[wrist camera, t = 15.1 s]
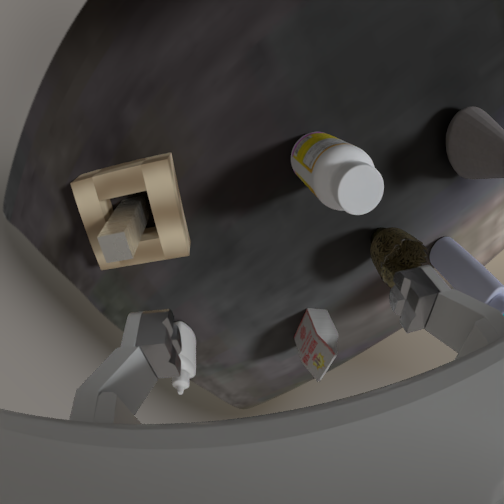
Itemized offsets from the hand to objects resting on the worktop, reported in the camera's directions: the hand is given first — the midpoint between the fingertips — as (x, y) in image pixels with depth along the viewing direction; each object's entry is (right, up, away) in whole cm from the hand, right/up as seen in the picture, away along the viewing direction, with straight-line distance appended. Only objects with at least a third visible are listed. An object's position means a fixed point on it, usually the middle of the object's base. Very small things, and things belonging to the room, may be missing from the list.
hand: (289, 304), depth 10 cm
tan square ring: (-16, +7, +25) cm, 31 cm away
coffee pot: (+36, +19, +26) cm, 49 cm away
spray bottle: (+32, +2, +36) cm, 48 cm away
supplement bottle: (+6, +14, +25) cm, 29 cm away
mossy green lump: (+18, +4, +33) cm, 37 cm away
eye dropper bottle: (-12, -11, +37) cm, 41 cm away
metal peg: (-16, +7, +26) cm, 31 cm away
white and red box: (+9, -10, +40) cm, 42 cm away
